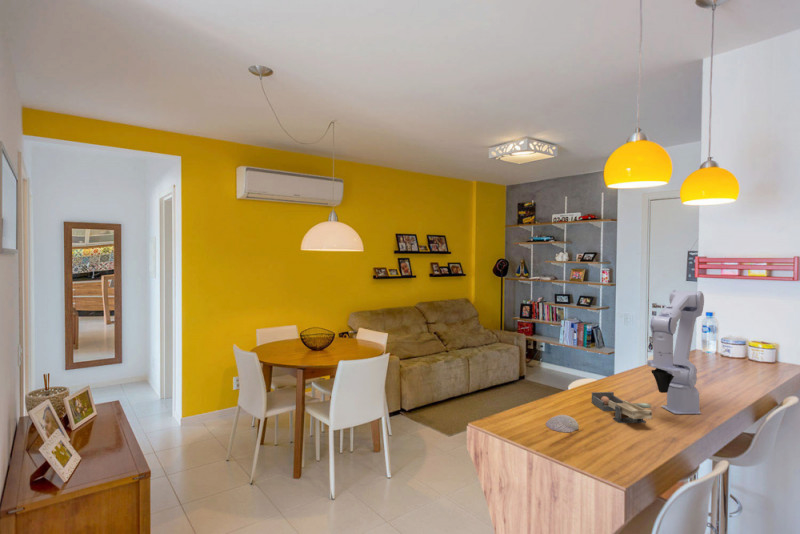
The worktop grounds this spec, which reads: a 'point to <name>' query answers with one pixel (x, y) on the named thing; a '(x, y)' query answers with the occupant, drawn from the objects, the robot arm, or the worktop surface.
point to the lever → (633, 409)
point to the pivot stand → (626, 419)
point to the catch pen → (599, 403)
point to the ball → (605, 400)
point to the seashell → (562, 423)
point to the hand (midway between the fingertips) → (663, 392)
